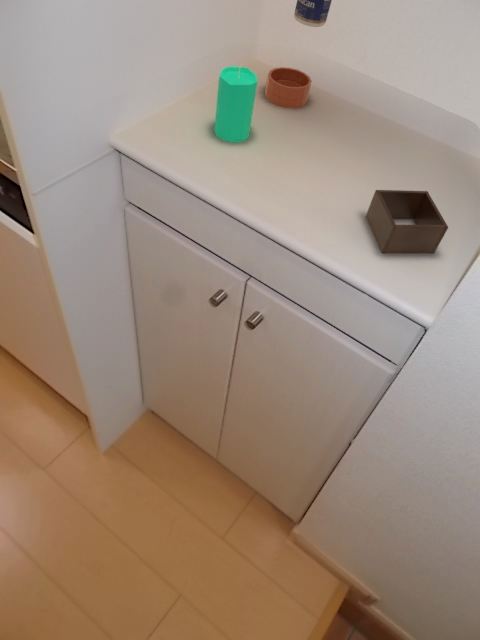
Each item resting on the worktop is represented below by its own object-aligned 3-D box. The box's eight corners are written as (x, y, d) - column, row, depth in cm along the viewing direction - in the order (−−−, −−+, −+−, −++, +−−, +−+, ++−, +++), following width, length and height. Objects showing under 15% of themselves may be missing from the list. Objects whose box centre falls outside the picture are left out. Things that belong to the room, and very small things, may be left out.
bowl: (301, 91, 103) (306, 68, 99) (309, 113, 98) (315, 89, 94) (261, 89, 101) (265, 66, 98) (268, 110, 96) (272, 87, 93)
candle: (223, 123, 91) (231, 52, 82) (254, 135, 90) (265, 64, 81) (207, 138, 88) (213, 66, 78) (239, 150, 86) (249, 79, 77)
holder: (413, 221, 80) (427, 190, 76) (431, 257, 75) (448, 227, 71) (363, 220, 78) (375, 189, 74) (379, 257, 73) (393, 226, 69)
